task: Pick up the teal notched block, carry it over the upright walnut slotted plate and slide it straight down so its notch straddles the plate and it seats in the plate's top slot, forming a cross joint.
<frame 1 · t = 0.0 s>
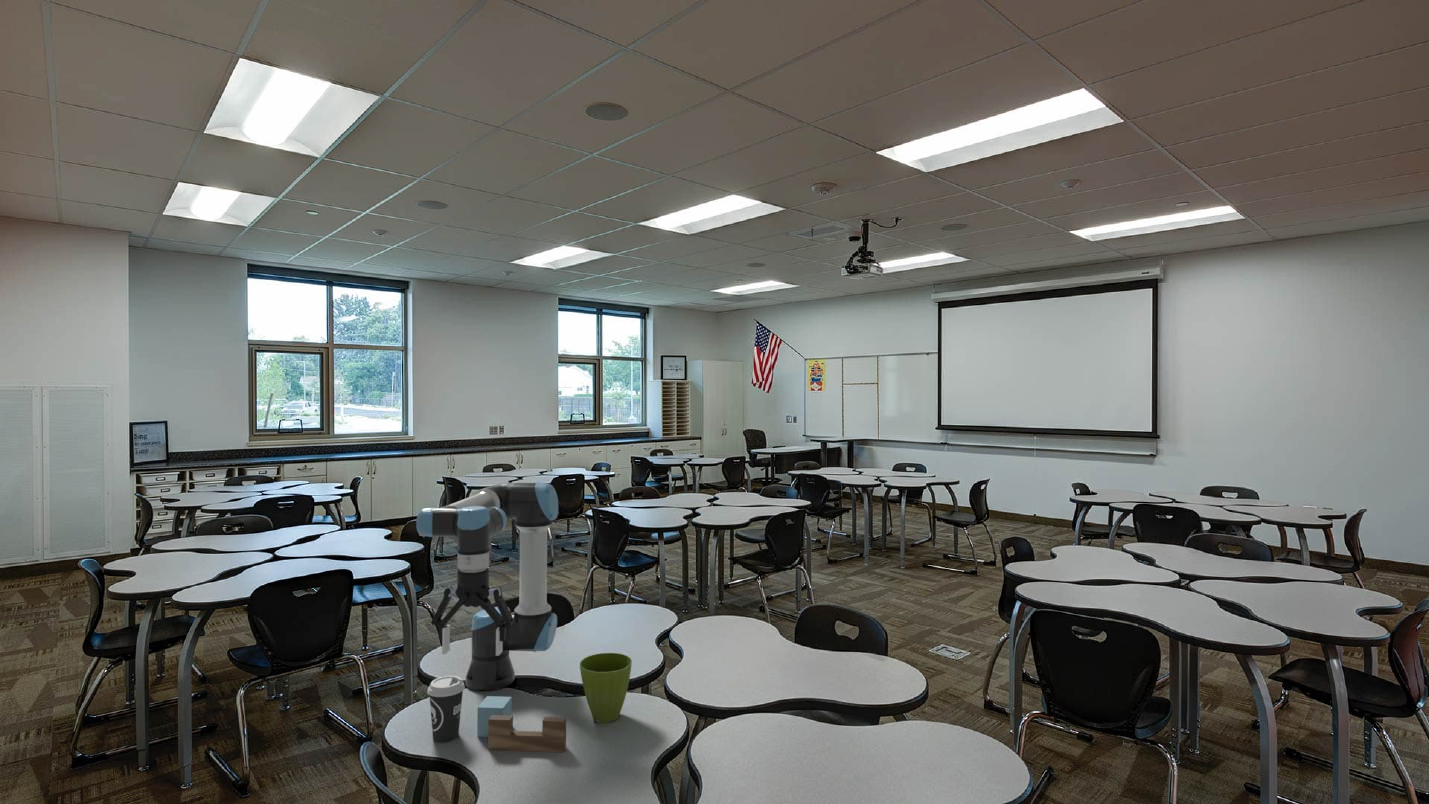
hand: (472, 653, 172), 28 cm above the table, fingers open, 13 cm apart
teal notched block: (494, 730, 190), on the table
walnut slotted plate: (527, 748, 180), on the table
coffee cup: (445, 737, 186), on the table
flower pot: (605, 717, 199), on the table
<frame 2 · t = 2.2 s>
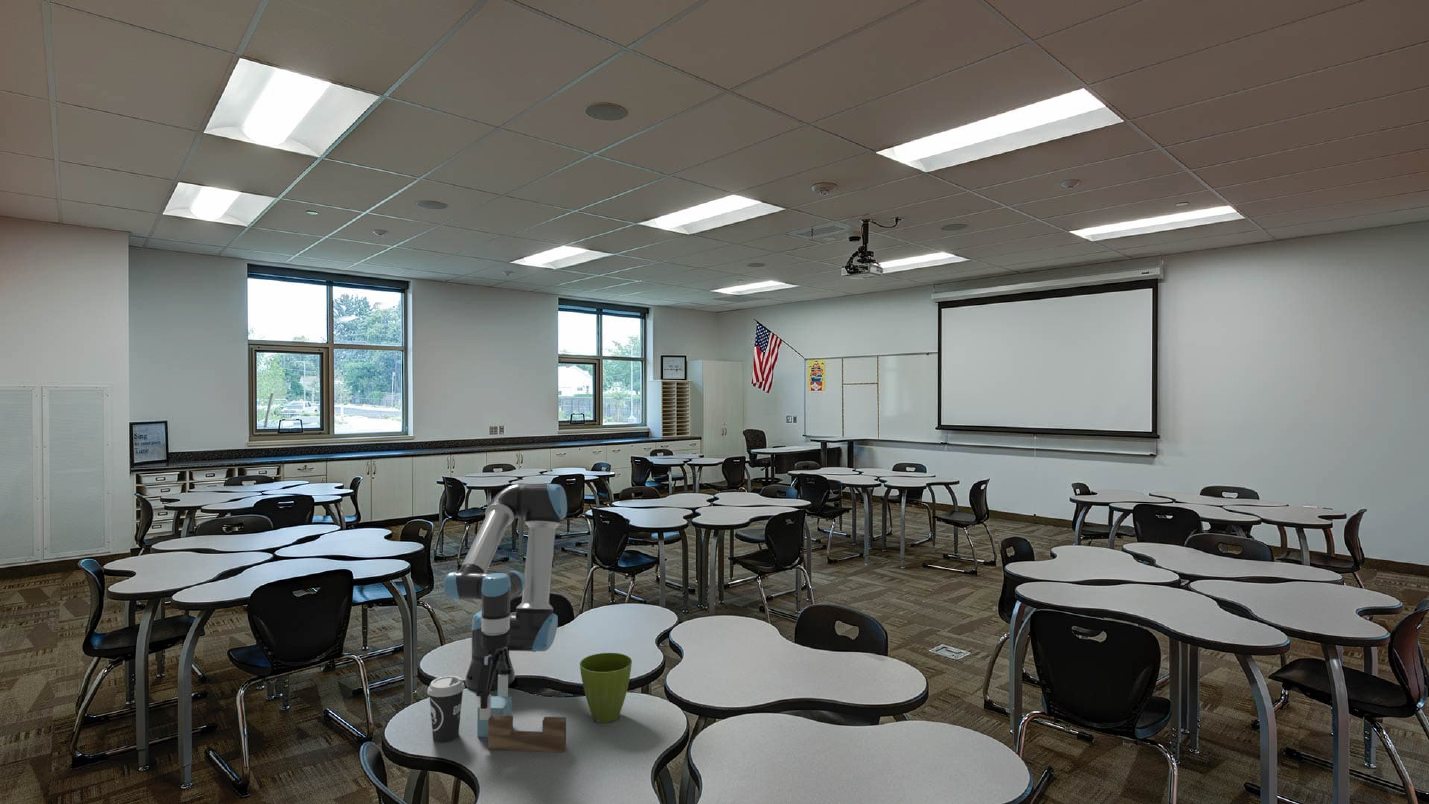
hand: (494, 708, 189), 6 cm above the table, fingers open, 13 cm apart
nothing on the table moved.
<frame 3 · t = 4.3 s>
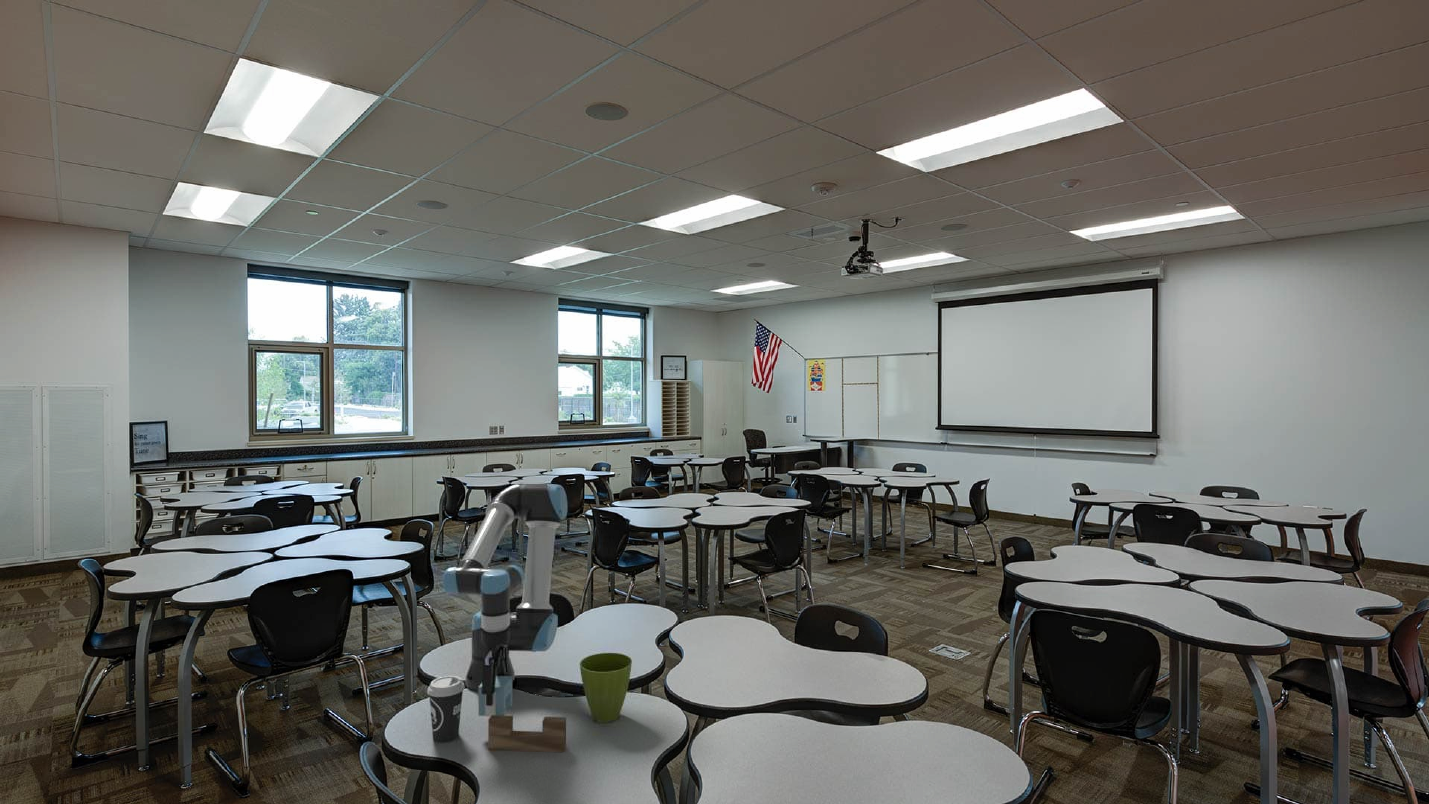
hand: (495, 708, 190), 6 cm above the table, fingers closed on teal notched block, 7 cm apart
teal notched block: (495, 709, 190), point 5 cm above the table, touching gripper
everything else where it was.
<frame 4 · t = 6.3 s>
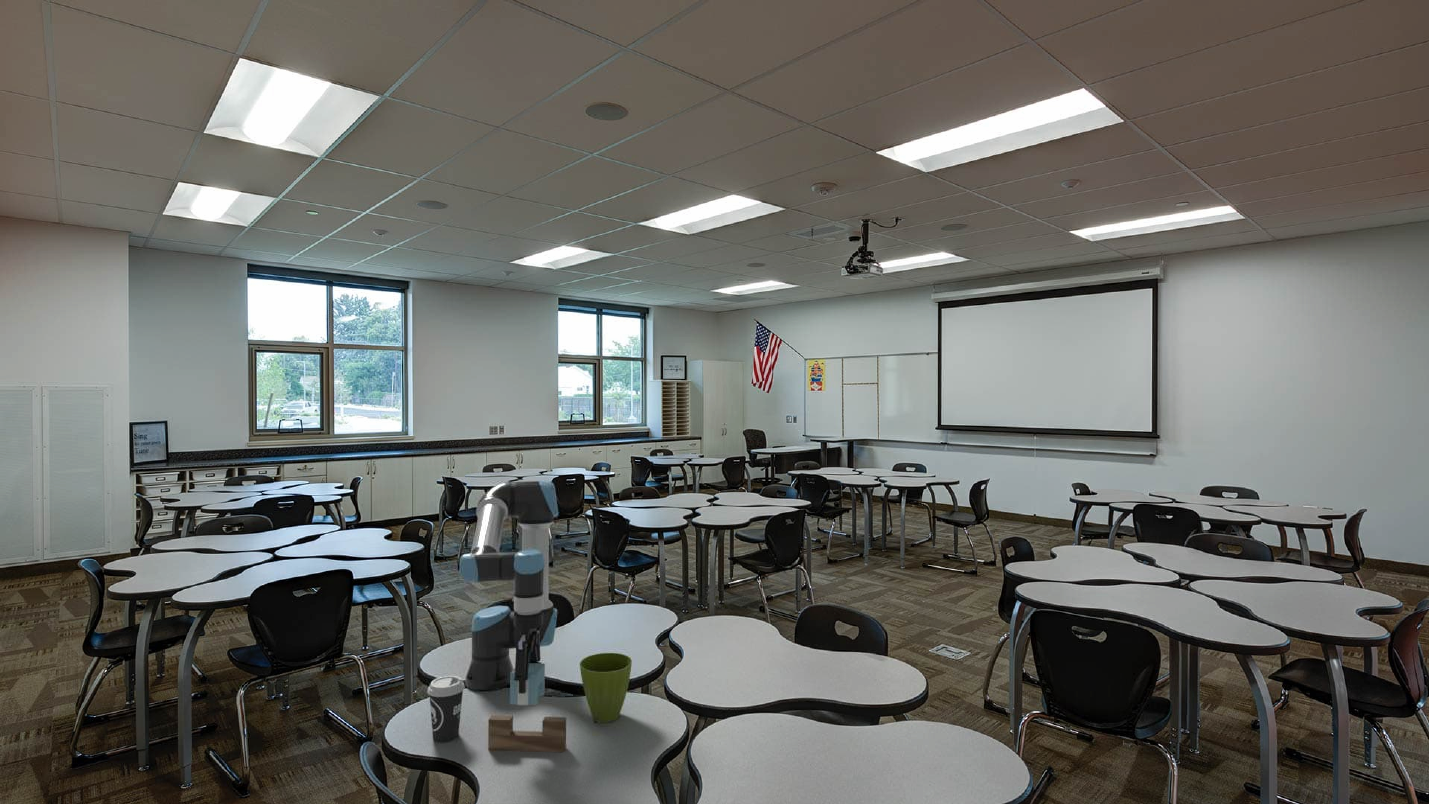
hand: (527, 697, 180), 14 cm above the table, fingers closed on teal notched block, 7 cm apart
teal notched block: (527, 698, 180), point 13 cm above the table, touching gripper
everything else where it was.
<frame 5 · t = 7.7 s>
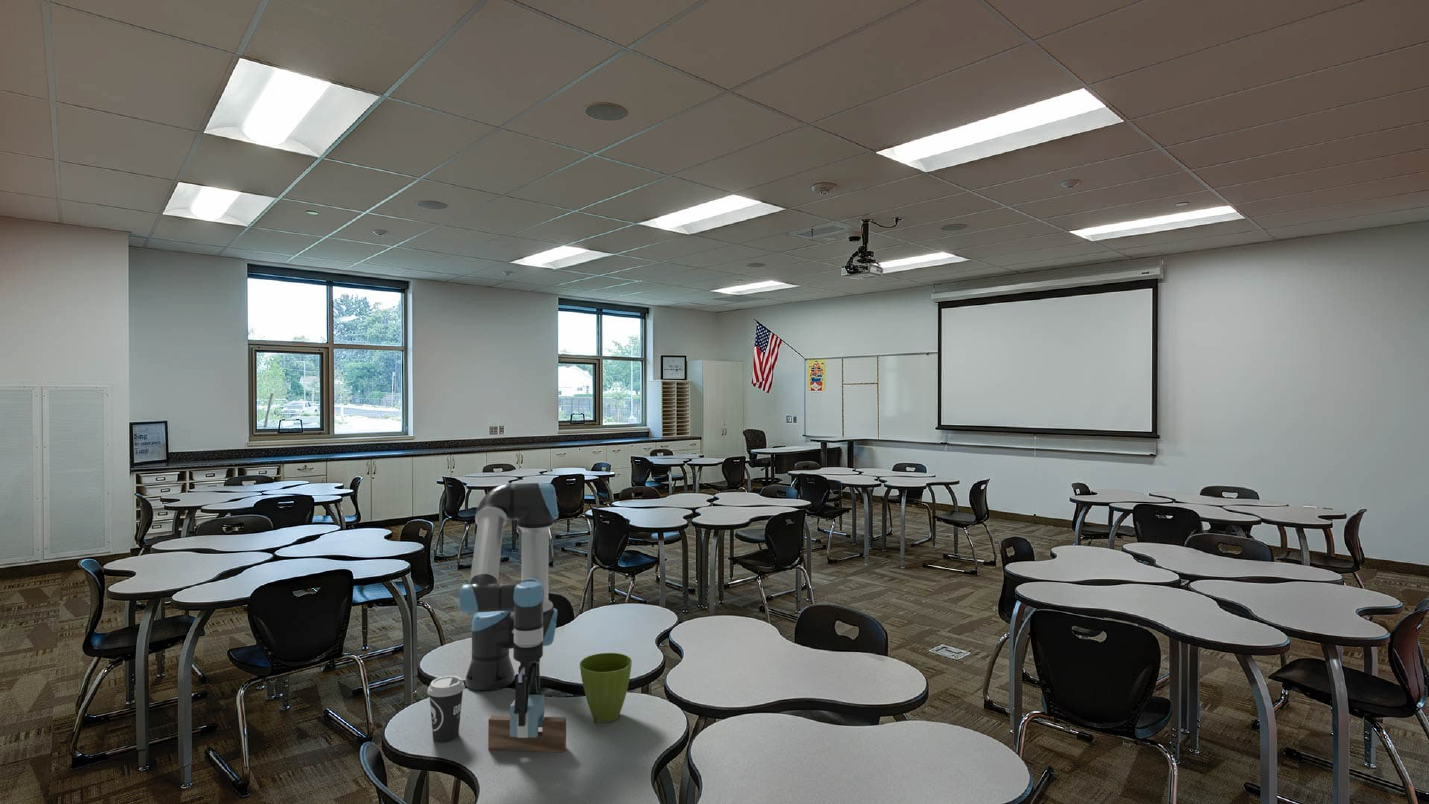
hand: (527, 729, 180), 5 cm above the table, fingers closed on teal notched block, 7 cm apart
teal notched block: (527, 730, 180), point 5 cm above the table, touching gripper
everything else where it was.
when the fingers open (2 cm above the table, at t = 8.7 s): teal notched block drops 2 cm, resting on walnut slotted plate.
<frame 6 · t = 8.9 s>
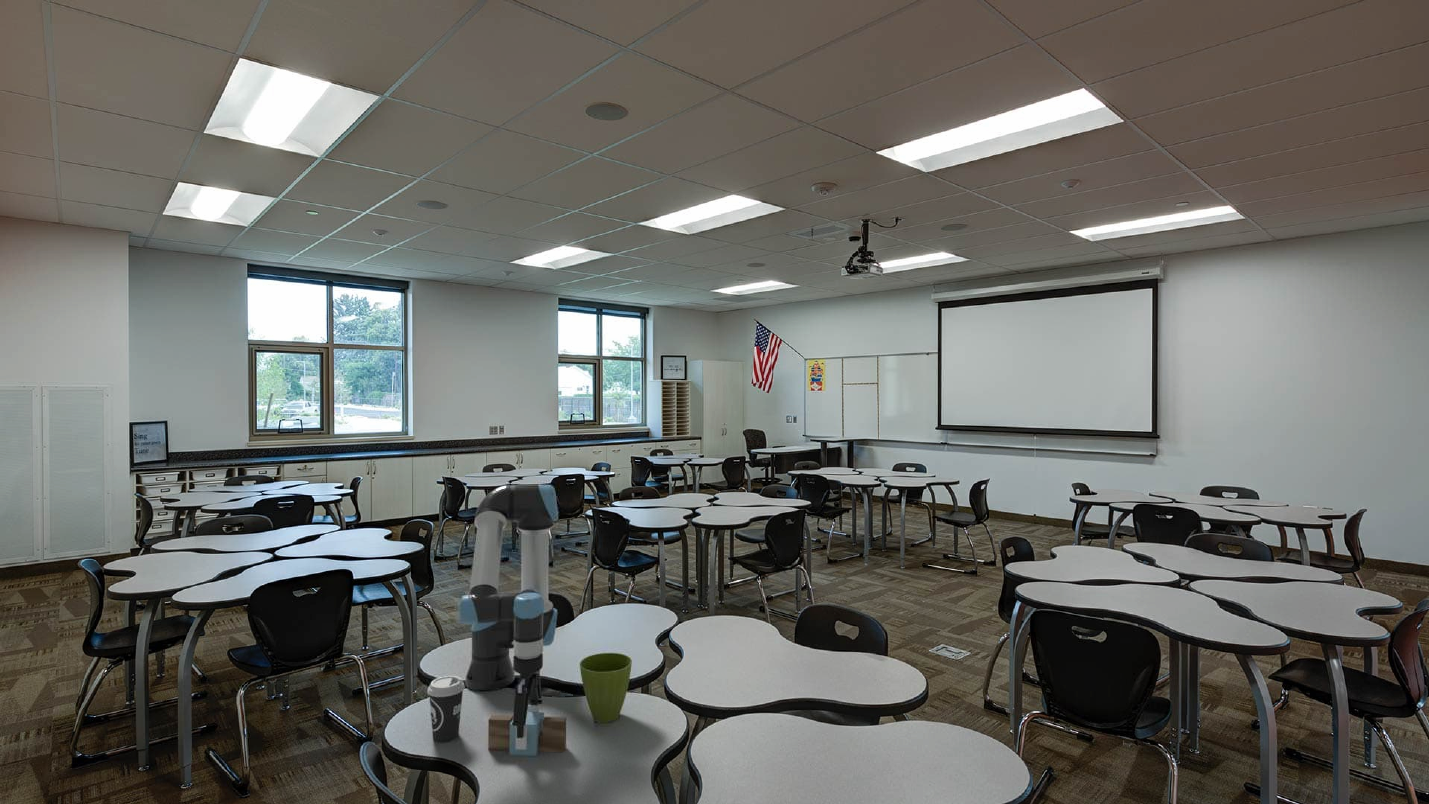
hand: (527, 738, 180), 3 cm above the table, fingers open, 9 cm apart
teal notched block: (527, 748, 180), resting on walnut slotted plate
everything else where it was.
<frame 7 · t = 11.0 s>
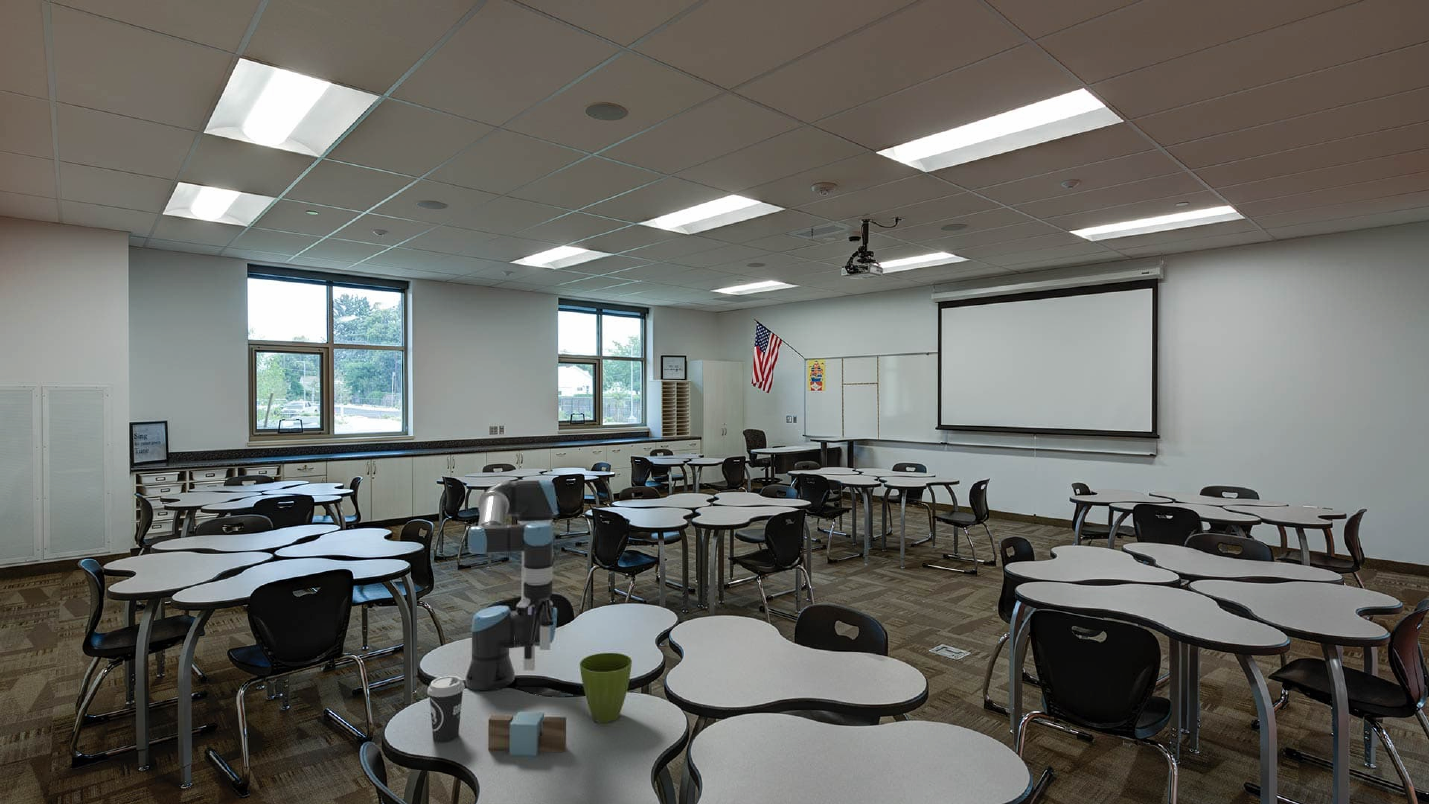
hand: (537, 659, 185), 22 cm above the table, fingers open, 13 cm apart
nothing on the table moved.
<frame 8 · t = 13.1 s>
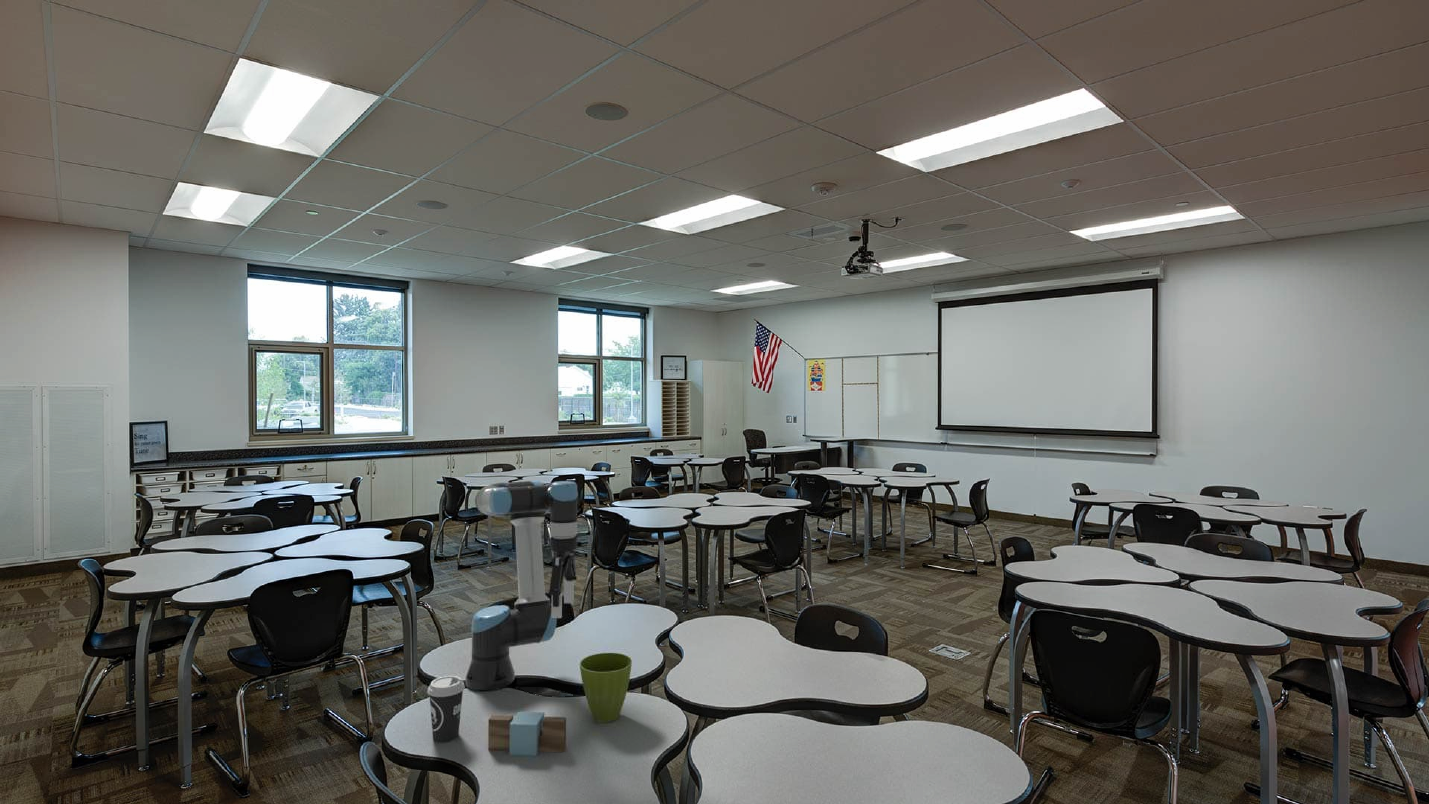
hand: (562, 610, 196), 32 cm above the table, fingers open, 13 cm apart
nothing on the table moved.
at the end: teal notched block 0.1 cm off-centre on the walnut slotted plate, point 0.0 cm above the walnut slotted plate's base; teal notched block tilted 0°; the gripper is holding nothing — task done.
